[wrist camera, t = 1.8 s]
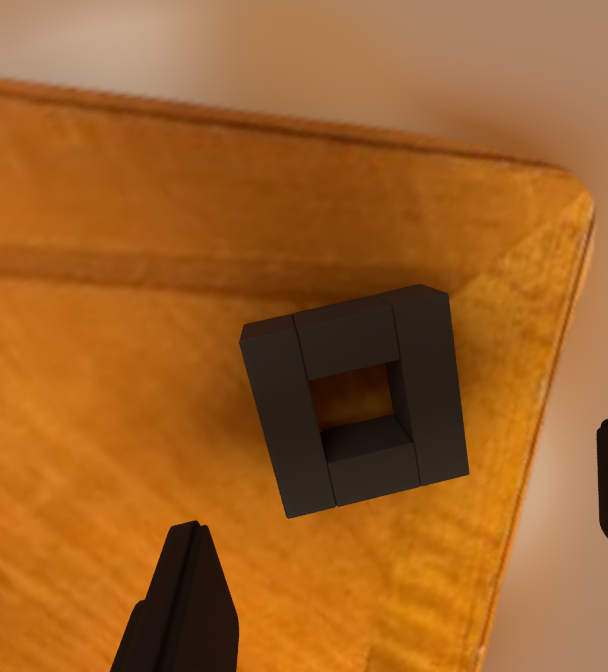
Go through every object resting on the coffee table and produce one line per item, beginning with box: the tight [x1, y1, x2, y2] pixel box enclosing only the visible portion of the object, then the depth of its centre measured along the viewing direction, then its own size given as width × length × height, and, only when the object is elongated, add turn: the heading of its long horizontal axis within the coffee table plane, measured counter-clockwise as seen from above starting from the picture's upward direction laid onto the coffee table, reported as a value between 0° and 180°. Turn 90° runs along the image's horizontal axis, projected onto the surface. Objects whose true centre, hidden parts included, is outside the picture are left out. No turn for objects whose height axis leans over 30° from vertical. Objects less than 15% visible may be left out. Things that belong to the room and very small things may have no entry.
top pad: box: [239, 284, 469, 519], centre depth 15 cm, size 7×7×2 cm
